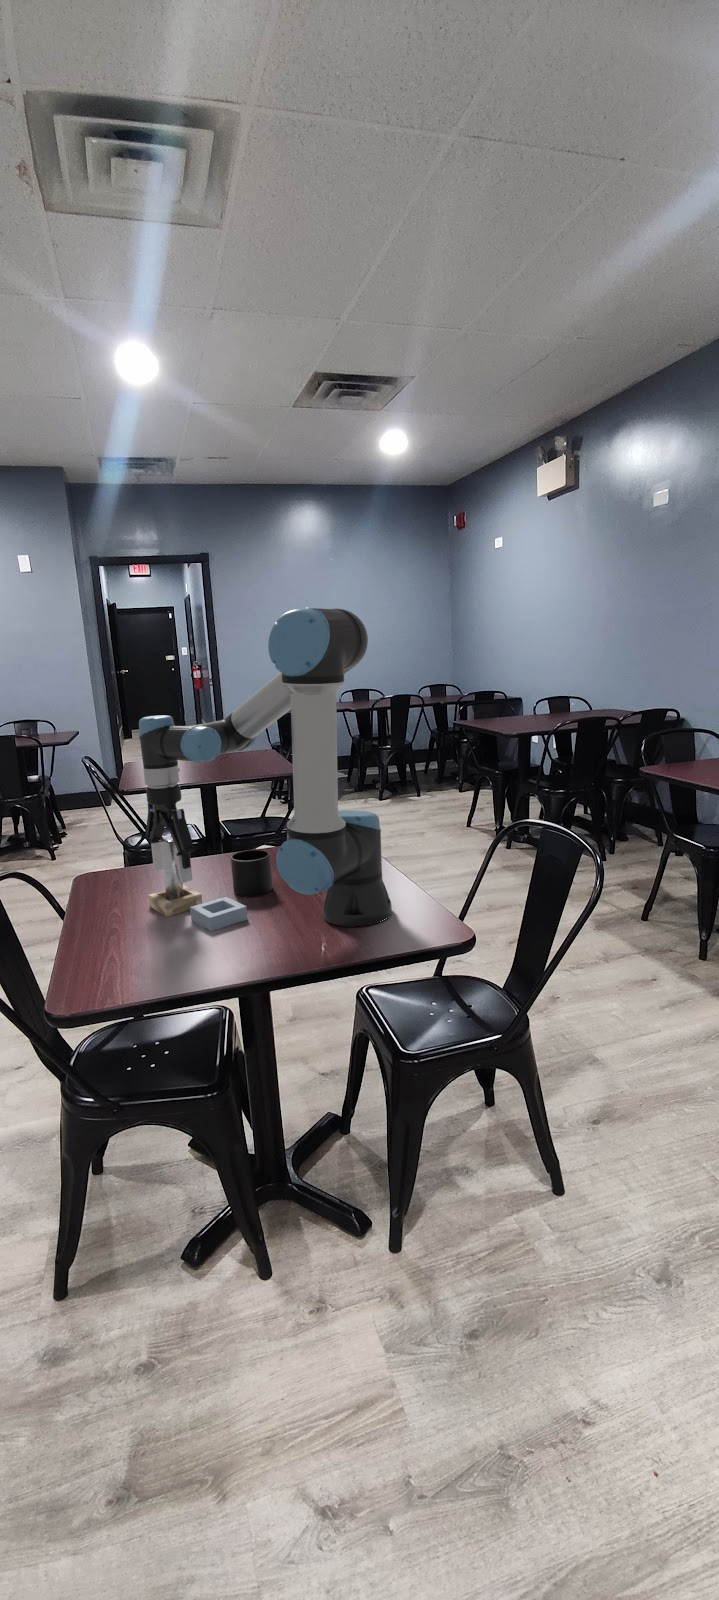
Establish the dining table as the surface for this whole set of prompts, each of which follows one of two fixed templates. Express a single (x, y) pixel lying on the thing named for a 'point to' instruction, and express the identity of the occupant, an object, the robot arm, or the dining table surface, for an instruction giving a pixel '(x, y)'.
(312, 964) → the dining table surface
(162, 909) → the block
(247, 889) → the mug
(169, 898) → the pin
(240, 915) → the socket block
